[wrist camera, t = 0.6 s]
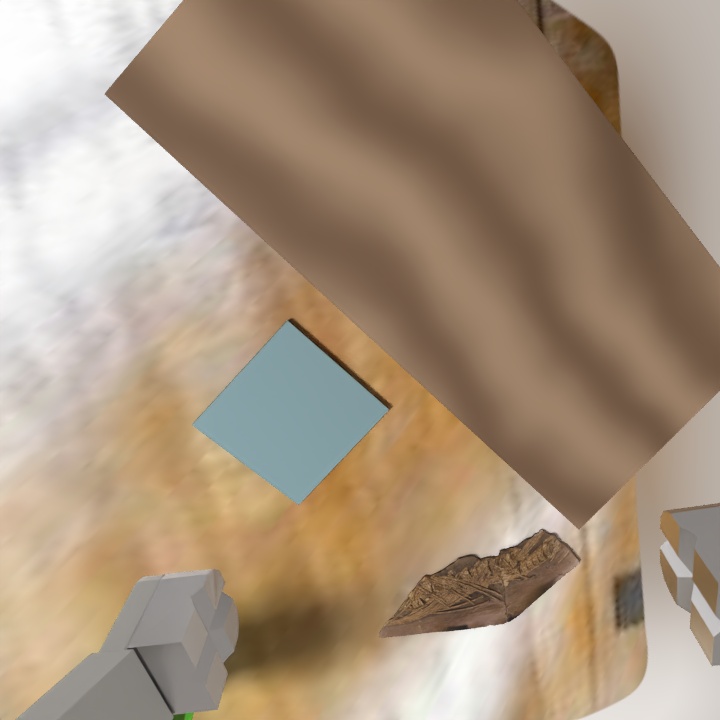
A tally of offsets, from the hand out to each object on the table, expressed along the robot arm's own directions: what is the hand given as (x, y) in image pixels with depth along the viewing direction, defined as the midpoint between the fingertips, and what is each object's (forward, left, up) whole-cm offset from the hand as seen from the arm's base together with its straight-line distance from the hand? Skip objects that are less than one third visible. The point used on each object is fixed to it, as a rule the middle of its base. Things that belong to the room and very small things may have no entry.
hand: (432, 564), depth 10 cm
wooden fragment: (+33, +25, -44) cm, 61 cm away
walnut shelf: (-7, +7, -44) cm, 45 cm away
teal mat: (+13, +1, -44) cm, 46 cm away
